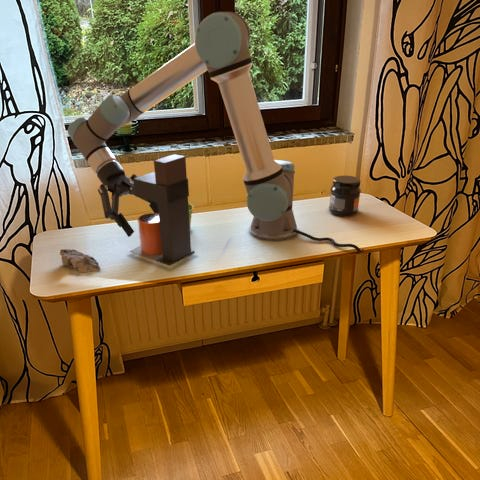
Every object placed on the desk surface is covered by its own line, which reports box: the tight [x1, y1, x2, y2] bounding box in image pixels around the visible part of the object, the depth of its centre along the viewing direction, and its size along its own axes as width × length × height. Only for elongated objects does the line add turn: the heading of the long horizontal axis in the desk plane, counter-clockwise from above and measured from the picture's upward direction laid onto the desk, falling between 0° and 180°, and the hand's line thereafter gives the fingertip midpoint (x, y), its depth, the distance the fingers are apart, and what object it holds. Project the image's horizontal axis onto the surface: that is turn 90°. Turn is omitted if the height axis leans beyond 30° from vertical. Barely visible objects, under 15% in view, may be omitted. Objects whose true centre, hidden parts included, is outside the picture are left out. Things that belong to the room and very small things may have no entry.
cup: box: [137, 212, 162, 255], centre depth 150 cm, size 8×8×10 cm
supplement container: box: [328, 175, 362, 217], centre depth 180 cm, size 10×10×12 cm
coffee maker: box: [128, 153, 195, 267], centre depth 144 cm, size 16×11×30 cm, turn 54°
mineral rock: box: [59, 248, 101, 274], centre depth 144 cm, size 15×8×4 cm, turn 36°
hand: (148, 227), depth 150 cm, fingers open, 13 cm apart
